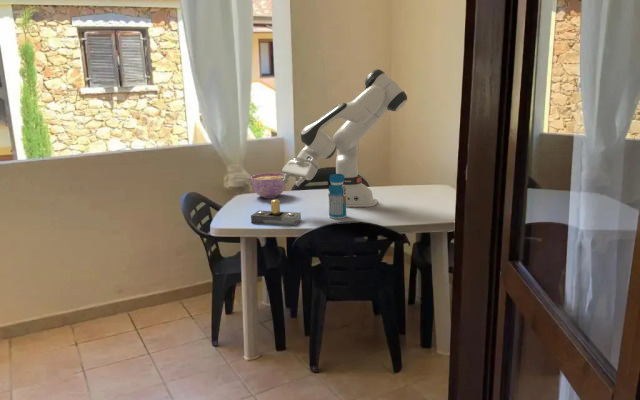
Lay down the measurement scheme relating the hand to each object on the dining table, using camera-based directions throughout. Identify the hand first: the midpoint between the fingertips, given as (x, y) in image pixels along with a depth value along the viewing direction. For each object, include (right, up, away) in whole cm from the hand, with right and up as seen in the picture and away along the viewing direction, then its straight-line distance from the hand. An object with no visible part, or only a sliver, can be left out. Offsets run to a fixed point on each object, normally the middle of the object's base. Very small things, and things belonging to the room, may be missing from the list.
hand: (290, 183), depth 244 cm
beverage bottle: (+22, -16, +1) cm, 27 cm away
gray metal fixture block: (-6, -17, -3) cm, 19 cm away
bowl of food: (-14, -6, +46) cm, 48 cm away
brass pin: (-6, -17, -3) cm, 19 cm away
